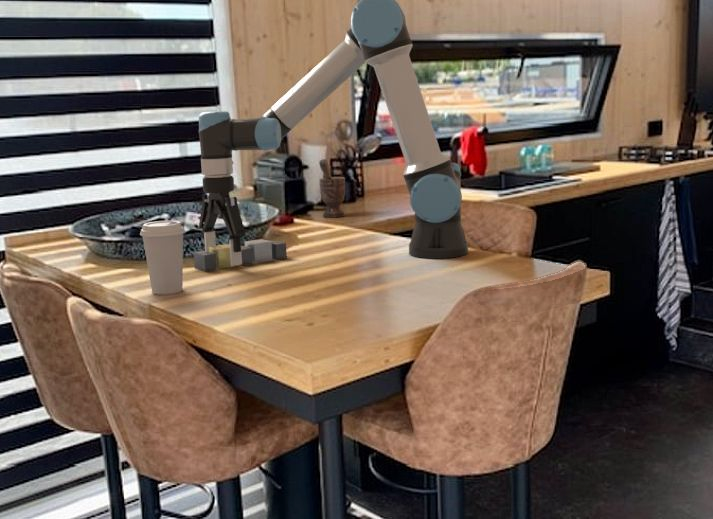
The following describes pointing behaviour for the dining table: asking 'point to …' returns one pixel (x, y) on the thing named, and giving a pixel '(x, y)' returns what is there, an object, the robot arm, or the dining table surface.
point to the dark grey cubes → (208, 259)
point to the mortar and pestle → (331, 191)
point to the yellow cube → (221, 255)
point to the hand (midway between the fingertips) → (223, 261)
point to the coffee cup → (164, 255)
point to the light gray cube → (260, 250)
